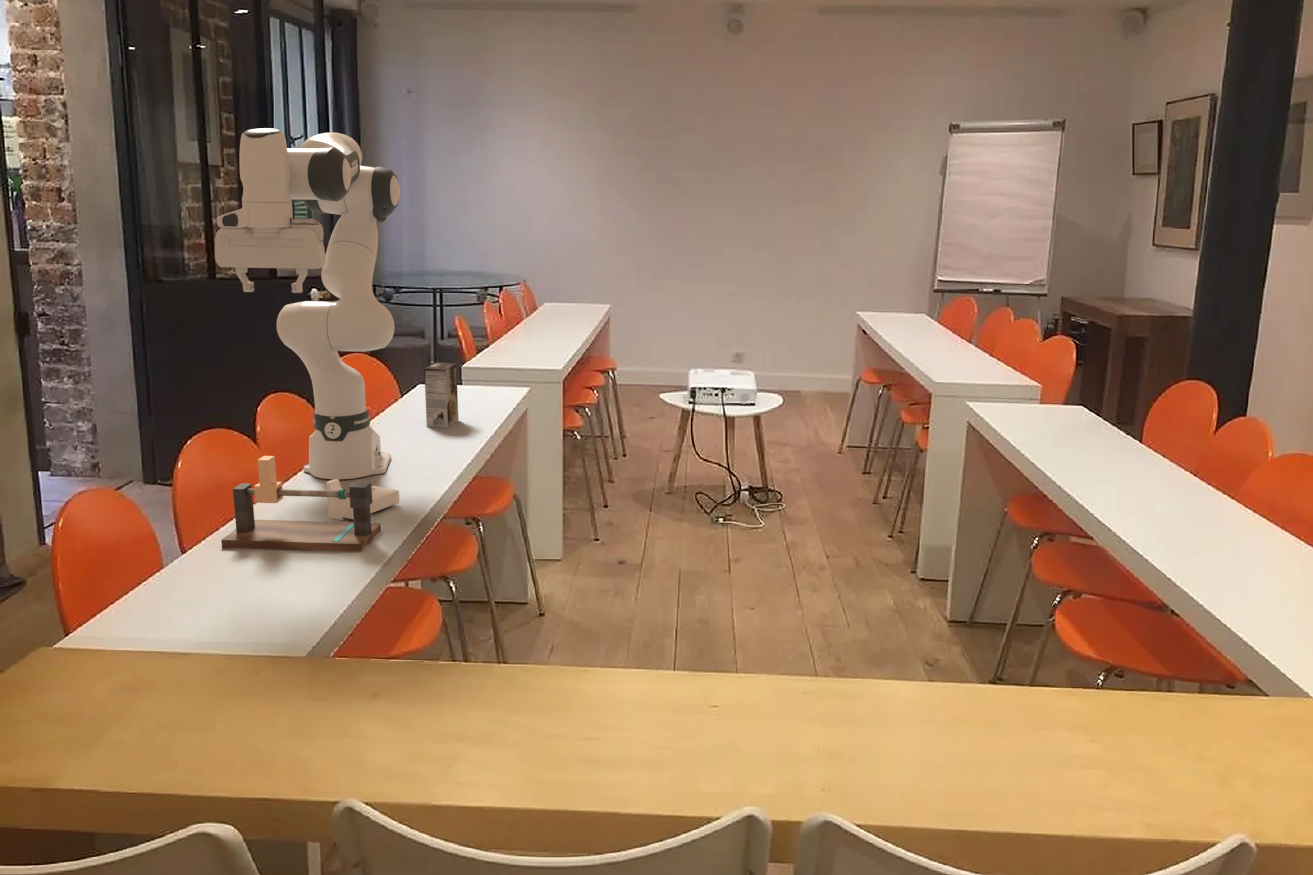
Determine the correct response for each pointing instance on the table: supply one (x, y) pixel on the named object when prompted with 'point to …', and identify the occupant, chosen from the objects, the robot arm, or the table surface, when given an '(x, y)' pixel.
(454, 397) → the coffee box
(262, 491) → the orange l-shaped block
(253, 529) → the linear slide rail
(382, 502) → the bracket
